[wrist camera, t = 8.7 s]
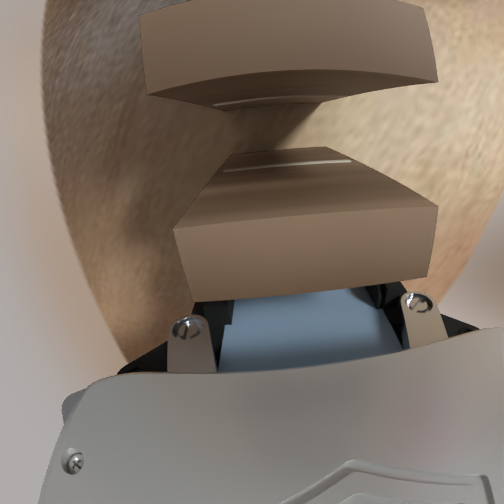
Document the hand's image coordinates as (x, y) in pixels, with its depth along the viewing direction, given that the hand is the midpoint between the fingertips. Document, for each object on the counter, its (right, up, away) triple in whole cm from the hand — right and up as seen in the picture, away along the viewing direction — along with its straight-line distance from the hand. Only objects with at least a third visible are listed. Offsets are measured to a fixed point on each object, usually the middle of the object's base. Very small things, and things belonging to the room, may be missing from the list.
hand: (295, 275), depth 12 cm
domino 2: (0, +5, +2) cm, 6 cm away
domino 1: (-1, +9, 0) cm, 9 cm away
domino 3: (0, +2, +3) cm, 3 cm away
